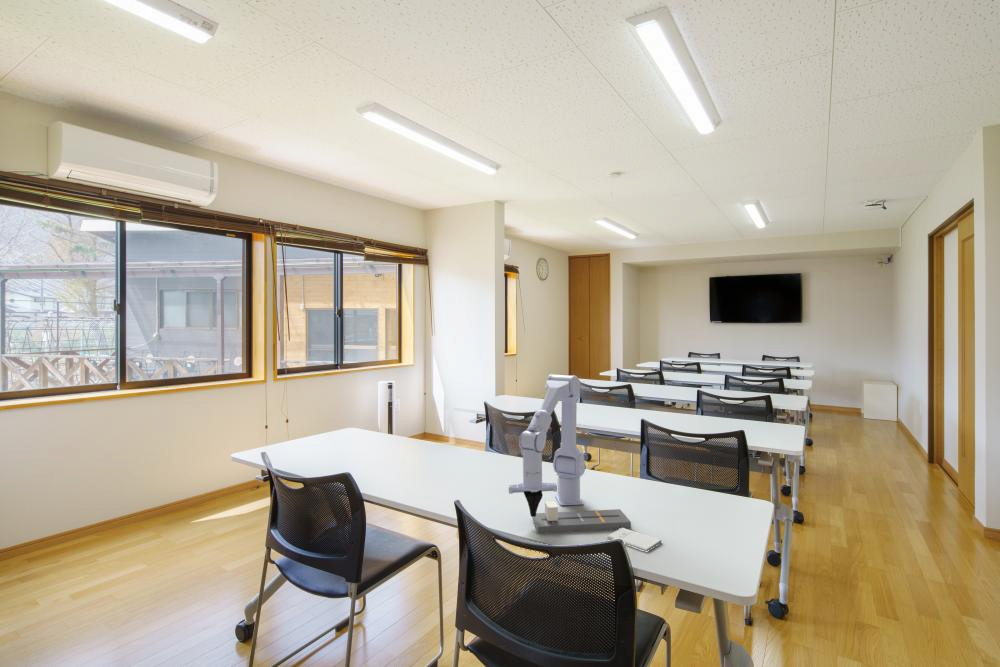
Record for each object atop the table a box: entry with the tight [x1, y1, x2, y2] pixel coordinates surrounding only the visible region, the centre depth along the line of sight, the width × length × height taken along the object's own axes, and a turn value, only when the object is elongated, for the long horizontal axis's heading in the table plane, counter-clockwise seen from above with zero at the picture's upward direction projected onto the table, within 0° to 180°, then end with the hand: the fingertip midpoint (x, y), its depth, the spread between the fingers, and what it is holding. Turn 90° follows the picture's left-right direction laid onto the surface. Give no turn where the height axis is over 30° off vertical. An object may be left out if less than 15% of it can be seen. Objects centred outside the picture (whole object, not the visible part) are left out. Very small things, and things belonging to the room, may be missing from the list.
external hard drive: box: [606, 528, 663, 551], centre depth 144 cm, size 2×8×12 cm
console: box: [531, 508, 632, 534], centre depth 156 cm, size 10×28×2 cm, turn 95°
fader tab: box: [544, 500, 559, 521], centre depth 155 cm, size 5×3×4 cm, turn 5°
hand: (533, 515), depth 154 cm, fingers closed
